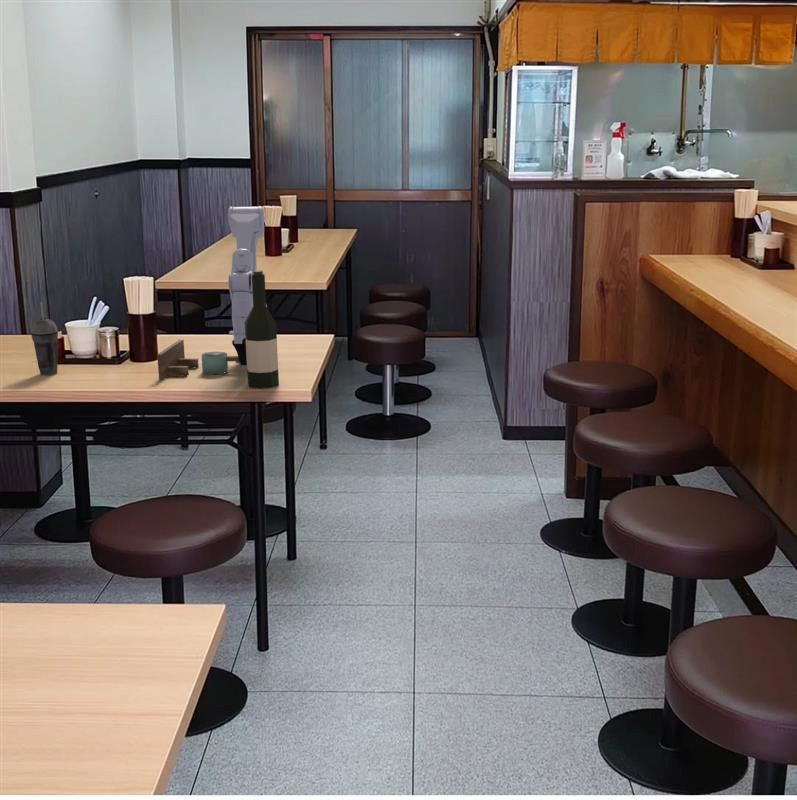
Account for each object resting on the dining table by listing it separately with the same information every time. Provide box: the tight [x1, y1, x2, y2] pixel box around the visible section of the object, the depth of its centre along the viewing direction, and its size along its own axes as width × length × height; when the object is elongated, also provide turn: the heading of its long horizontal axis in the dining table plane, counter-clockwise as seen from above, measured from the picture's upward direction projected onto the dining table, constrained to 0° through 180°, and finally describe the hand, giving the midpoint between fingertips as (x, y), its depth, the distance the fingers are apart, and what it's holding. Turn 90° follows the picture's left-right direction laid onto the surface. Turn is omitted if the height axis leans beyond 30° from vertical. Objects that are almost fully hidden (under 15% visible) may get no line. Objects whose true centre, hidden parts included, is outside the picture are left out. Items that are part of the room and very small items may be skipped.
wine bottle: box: [245, 269, 280, 389], centre depth 262 cm, size 8×8×30 cm
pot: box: [201, 351, 240, 375], centre depth 280 cm, size 14×7×5 cm, turn 85°
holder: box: [156, 339, 200, 380], centre depth 281 cm, size 6×20×7 cm, turn 175°
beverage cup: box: [30, 301, 59, 376], centre depth 278 cm, size 7×7×20 cm
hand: (245, 364), depth 279 cm, fingers closed on pot, 2 cm apart
